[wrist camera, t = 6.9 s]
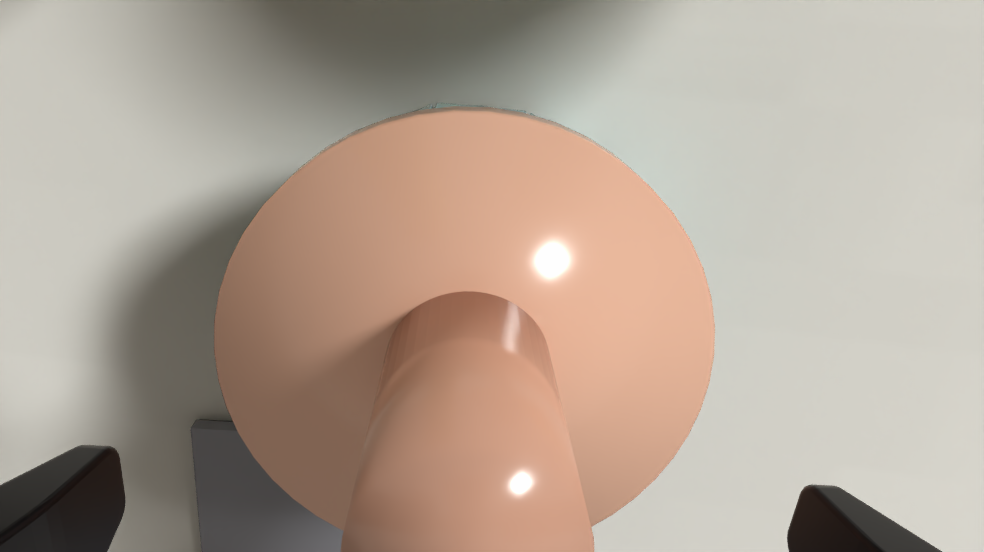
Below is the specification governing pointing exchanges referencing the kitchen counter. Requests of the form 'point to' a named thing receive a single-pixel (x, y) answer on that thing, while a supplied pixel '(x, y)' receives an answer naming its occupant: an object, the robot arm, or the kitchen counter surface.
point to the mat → (248, 500)
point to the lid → (464, 334)
